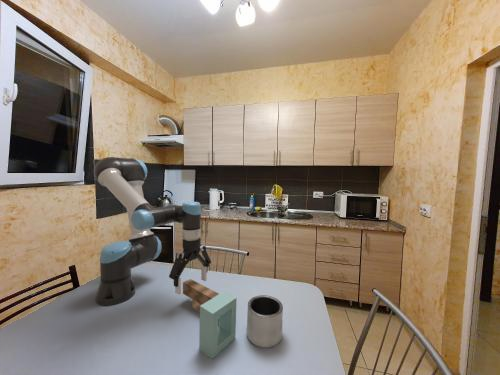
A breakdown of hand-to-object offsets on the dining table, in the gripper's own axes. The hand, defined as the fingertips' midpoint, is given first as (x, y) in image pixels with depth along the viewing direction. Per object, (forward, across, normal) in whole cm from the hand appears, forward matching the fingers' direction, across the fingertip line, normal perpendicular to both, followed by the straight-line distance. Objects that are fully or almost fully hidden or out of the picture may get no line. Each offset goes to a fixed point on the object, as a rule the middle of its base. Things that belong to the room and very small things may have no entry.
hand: (191, 286), depth 92 cm
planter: (+8, +5, -34) cm, 36 cm away
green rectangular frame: (+8, -8, -24) cm, 27 cm away
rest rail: (+8, 0, -8) cm, 11 cm away
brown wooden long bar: (+4, 0, -8) cm, 8 cm away
